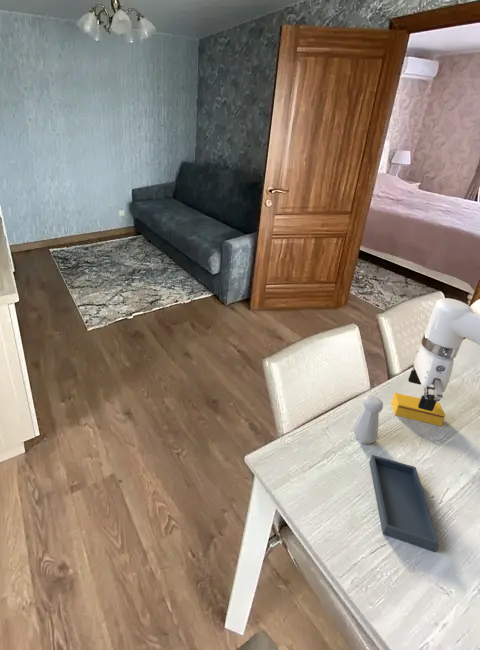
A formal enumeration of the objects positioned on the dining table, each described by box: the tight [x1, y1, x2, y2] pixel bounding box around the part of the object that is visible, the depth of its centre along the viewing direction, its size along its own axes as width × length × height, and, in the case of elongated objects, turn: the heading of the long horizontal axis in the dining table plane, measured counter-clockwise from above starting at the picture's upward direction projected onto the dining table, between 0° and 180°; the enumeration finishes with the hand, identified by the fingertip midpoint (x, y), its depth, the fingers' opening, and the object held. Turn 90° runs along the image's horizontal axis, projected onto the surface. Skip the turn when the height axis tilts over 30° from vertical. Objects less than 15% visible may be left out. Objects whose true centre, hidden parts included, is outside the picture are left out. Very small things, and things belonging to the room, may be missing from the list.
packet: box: [391, 392, 446, 427], centre depth 96 cm, size 11×4×4 cm, turn 71°
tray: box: [369, 454, 441, 553], centre depth 75 cm, size 9×16×2 cm, turn 161°
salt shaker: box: [352, 394, 384, 445], centre depth 87 cm, size 6×6×13 cm
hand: (419, 395), depth 94 cm, fingers open, 9 cm apart
